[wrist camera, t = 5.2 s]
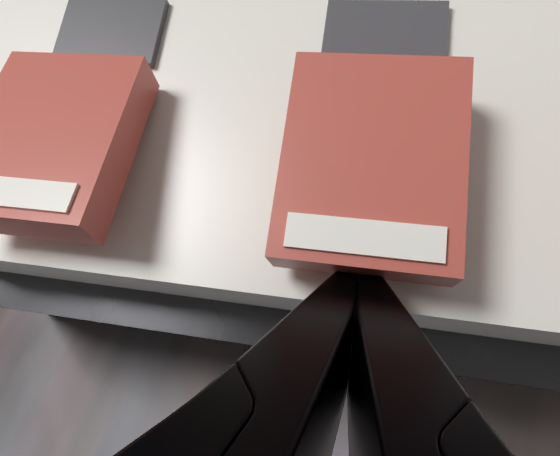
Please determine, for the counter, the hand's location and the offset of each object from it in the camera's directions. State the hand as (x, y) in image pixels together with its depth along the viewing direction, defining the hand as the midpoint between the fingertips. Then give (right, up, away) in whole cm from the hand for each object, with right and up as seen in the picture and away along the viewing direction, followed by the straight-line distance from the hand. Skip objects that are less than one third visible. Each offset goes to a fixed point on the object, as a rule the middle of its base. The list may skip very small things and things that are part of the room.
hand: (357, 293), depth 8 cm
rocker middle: (0, +2, 0) cm, 2 cm away
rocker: (-6, +3, +1) cm, 7 cm away
